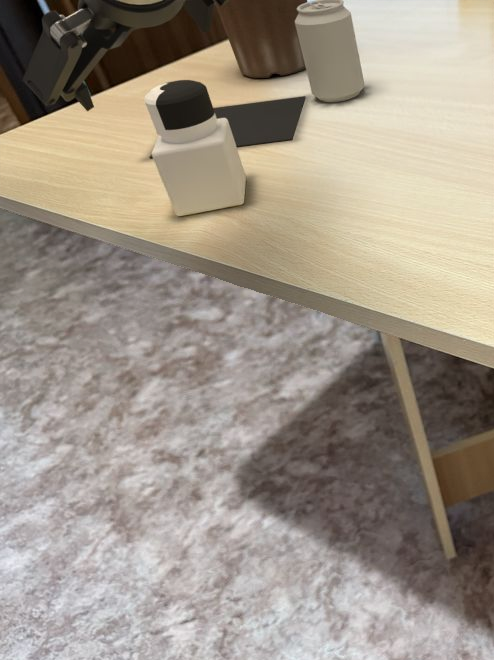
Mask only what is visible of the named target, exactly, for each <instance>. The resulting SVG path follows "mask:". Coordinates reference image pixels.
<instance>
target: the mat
mask: <svg viewBox="0 0 494 660" xmlns="http://www.w3.org/2000/svg"><path fill="white" fill-rule="evenodd" d="M305 100H306V95H304V96H295V97H294V96H293V97H288V98H280V99H279V98H278V99H272V100H263V101H257V102H249V103H242V104H241V103H240V104H234V105H233V104H232V105H227V106H226V105H225V106H219V107H218V106H217V107H213V109H214V112H215V115H216V118H217V119H220V118H226V119H227V120H228V122H229V125H230V128H231V131H232V135H233V138H234V141H235V144H236V147H237V148H240V147H248V146H256V145H263V144H272V143H281V142H286V141H293V139H294V135H295V132H296V129H297V126H298V122H299V119H300V115H301V112H302V110H303V107H304V104H305ZM148 158H149V159H153V157H152V153H151V154H150V156H149V157H148Z"/></svg>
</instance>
